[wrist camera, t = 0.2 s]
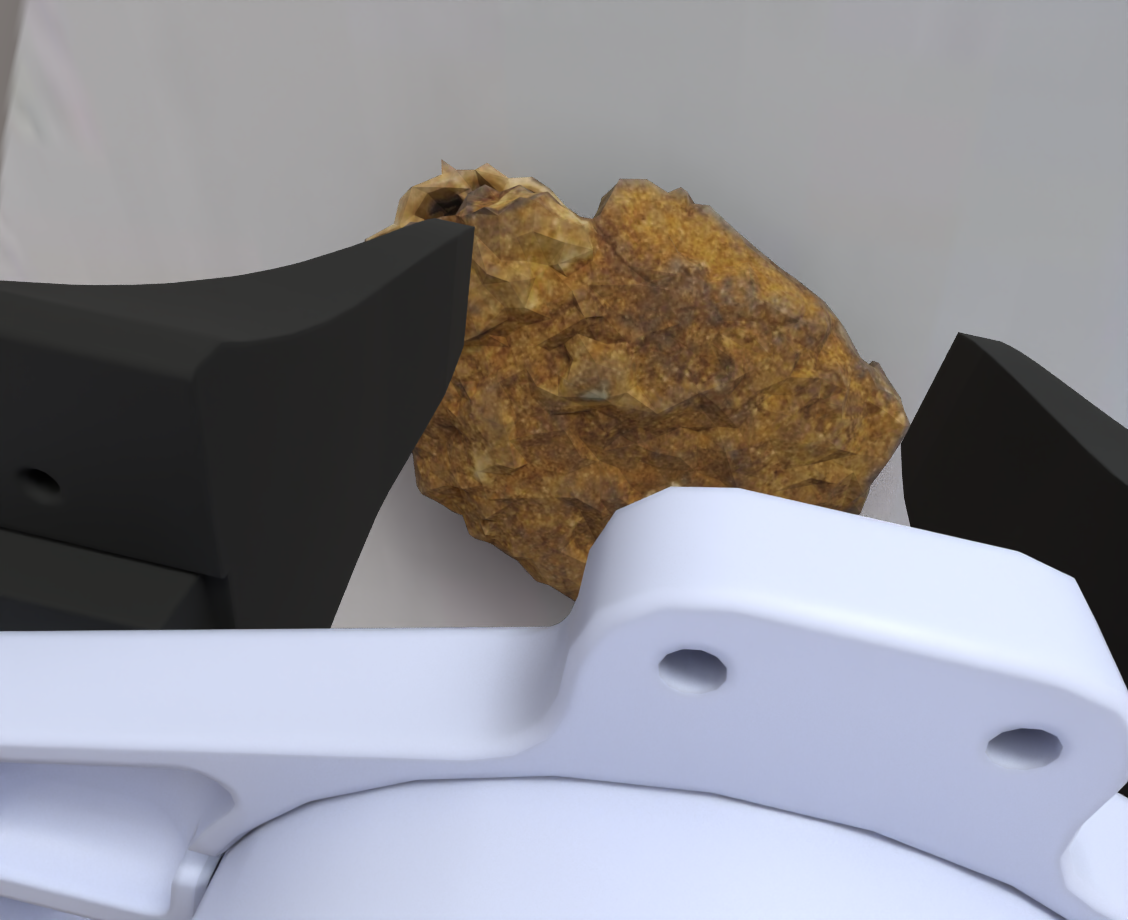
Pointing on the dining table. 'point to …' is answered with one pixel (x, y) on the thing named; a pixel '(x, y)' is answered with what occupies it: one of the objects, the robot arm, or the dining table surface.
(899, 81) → the dining table surface
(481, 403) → the decorative rock
